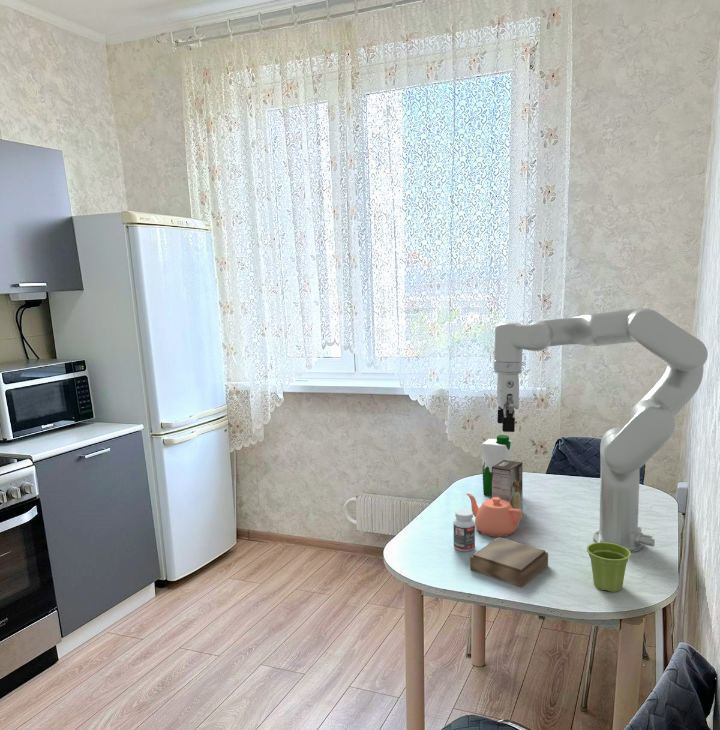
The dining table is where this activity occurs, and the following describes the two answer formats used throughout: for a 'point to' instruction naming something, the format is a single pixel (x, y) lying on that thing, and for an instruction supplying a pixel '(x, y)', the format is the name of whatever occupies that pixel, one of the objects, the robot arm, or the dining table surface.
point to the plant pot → (608, 565)
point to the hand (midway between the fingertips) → (505, 427)
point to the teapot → (495, 517)
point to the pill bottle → (464, 530)
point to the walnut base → (509, 561)
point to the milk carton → (494, 458)
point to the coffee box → (508, 483)
